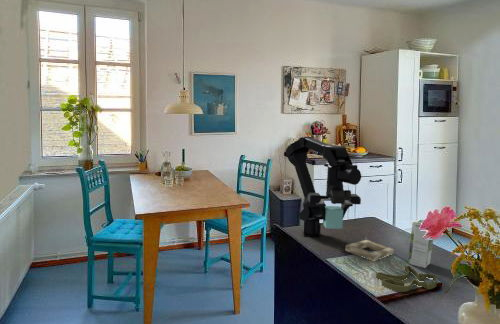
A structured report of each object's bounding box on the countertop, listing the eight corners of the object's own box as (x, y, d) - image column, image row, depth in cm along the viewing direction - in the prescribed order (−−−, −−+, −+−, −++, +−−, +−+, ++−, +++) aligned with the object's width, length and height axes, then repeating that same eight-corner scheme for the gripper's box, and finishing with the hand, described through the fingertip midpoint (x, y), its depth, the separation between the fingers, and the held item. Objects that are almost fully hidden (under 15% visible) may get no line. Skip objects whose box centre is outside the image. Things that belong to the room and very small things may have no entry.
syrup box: (412, 259, 129) (416, 218, 127) (431, 263, 126) (435, 221, 124) (407, 263, 125) (411, 221, 123) (426, 268, 121) (430, 225, 119)
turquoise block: (325, 228, 138) (326, 209, 137) (322, 223, 144) (323, 205, 143) (342, 228, 138) (343, 210, 137) (338, 224, 144) (339, 206, 143)
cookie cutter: (412, 270, 121) (412, 264, 120) (445, 286, 110) (446, 279, 110) (369, 280, 113) (369, 273, 113) (401, 298, 102) (401, 291, 102)
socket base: (372, 261, 126) (373, 254, 126) (342, 249, 137) (342, 242, 136) (395, 254, 134) (396, 247, 133) (365, 243, 144) (366, 236, 144)
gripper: (313, 183, 131) (311, 226, 133) (366, 184, 131) (363, 228, 133) (308, 177, 142) (306, 217, 144) (357, 179, 142) (355, 219, 144)
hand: (332, 220), depth 141 cm, fingers closed on turquoise block, 6 cm apart
